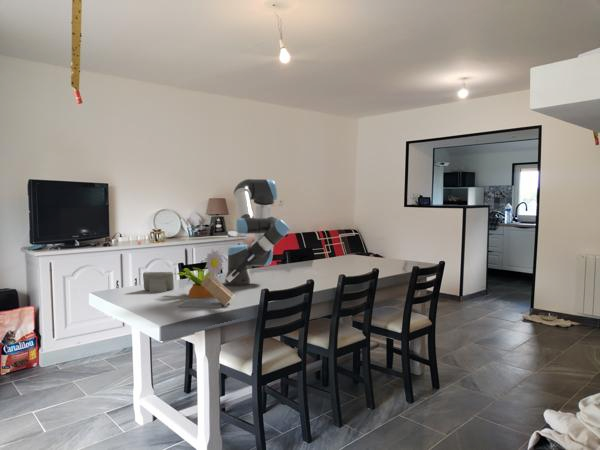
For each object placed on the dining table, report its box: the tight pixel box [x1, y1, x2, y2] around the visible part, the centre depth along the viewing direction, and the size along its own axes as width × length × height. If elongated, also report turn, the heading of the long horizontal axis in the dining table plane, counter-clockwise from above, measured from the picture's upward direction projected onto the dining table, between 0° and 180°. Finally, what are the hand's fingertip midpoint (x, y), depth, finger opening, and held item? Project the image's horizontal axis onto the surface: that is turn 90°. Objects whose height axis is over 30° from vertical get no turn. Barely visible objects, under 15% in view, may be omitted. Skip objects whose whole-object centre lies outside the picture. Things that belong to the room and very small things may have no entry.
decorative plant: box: [173, 249, 224, 299], centre depth 227 cm, size 27×24×25 cm
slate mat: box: [177, 299, 224, 309], centre depth 207 cm, size 13×20×1 cm, turn 89°
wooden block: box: [200, 274, 235, 307], centre depth 207 cm, size 7×5×16 cm
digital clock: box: [142, 271, 175, 293], centre depth 236 cm, size 16×9×11 cm, turn 88°
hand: (227, 280), depth 206 cm, fingers closed
